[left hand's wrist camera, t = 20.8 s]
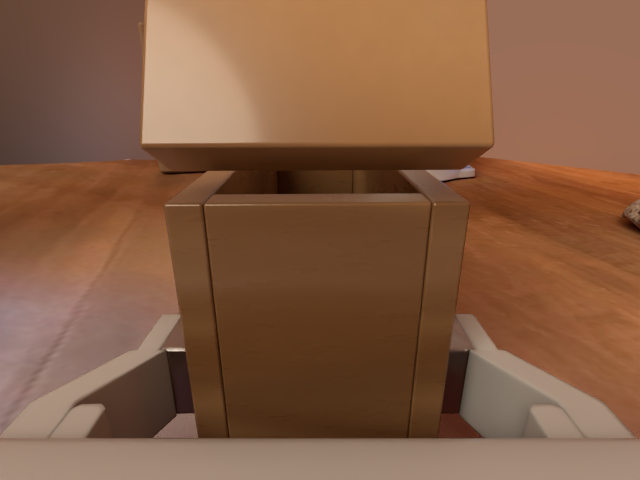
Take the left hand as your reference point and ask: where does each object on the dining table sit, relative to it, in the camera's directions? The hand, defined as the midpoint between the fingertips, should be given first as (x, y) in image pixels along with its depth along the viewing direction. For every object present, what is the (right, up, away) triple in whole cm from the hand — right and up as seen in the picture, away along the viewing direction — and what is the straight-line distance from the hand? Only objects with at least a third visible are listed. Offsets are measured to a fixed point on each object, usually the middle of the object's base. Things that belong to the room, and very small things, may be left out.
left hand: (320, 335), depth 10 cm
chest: (0, -4, +6) cm, 7 cm away
